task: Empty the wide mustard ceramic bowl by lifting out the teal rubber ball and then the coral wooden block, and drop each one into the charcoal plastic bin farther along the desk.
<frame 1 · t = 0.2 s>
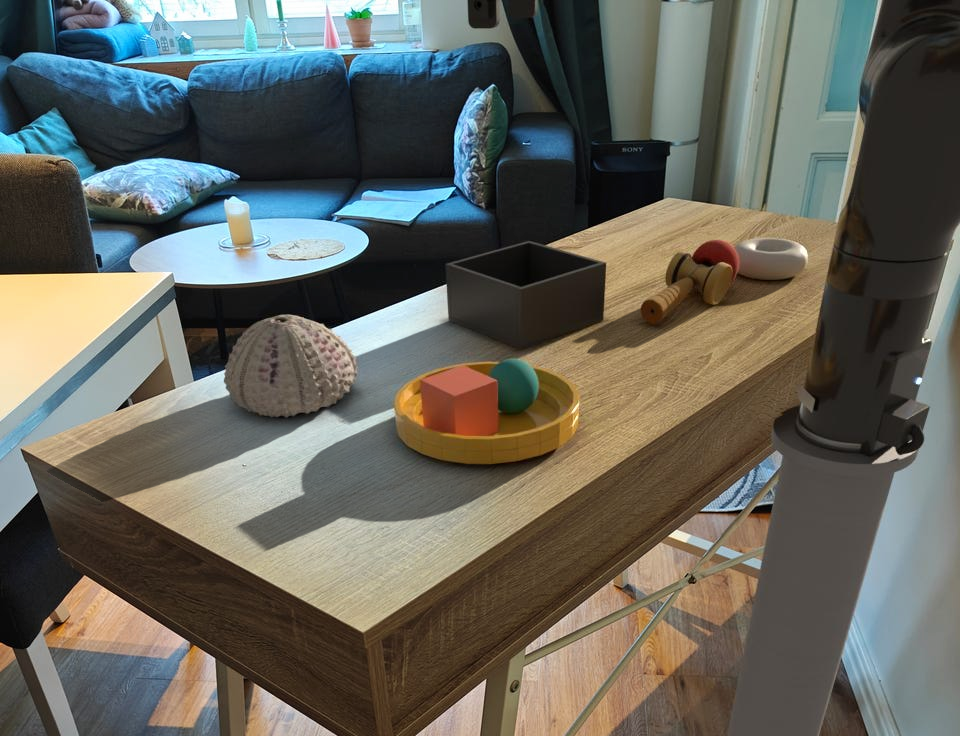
hand: (504, 22, 68), 31 cm above the table, tool pointing down, fingers open, 8 cm apart
bin: (525, 320, 107), on the table
toy block: (461, 431, 83), point 1 cm above the table, touching bowl
bowl: (487, 427, 85), on the table
donut: (766, 273, 119), on the table
toy ball: (512, 411, 86), point 1 cm above the table, touching bowl
kendama: (688, 305, 110), on the table
sea urchin shell: (294, 399, 92), on the table
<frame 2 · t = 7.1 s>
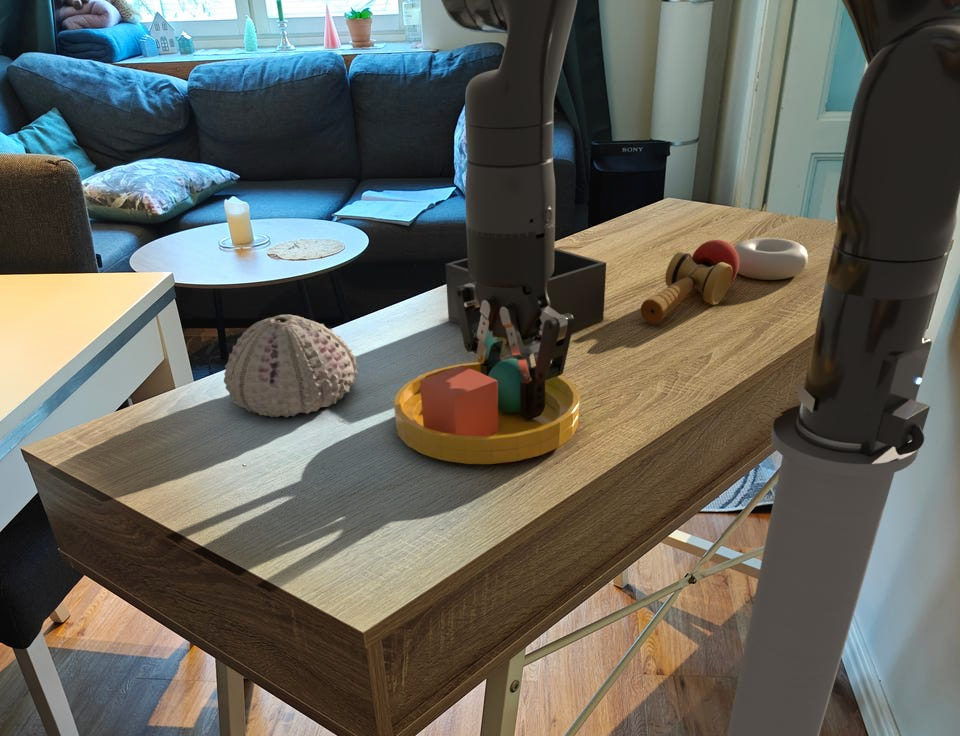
hand: (512, 407, 86), 1 cm above the table, tool pointing down, fingers closed on toy ball, 5 cm apart
toy ball: (512, 411, 86), point 1 cm above the table, touching bowl, gripper
everything else where it was.
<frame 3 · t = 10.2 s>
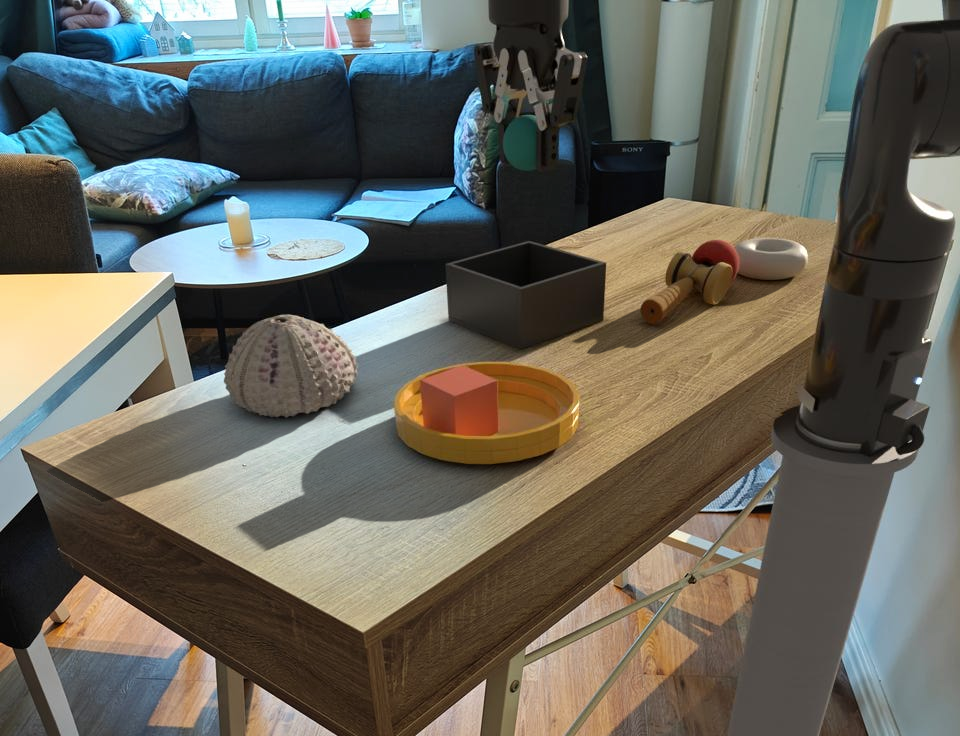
hand: (527, 165, 92), 18 cm above the table, tool pointing down, fingers closed on toy ball, 5 cm apart
toy ball: (527, 170, 92), point 17 cm above the table, touching gripper
everything else where it was.
when the fingers open (7 cm above the table, at t = 13.2 s): toy ball drops 6 cm, resting on bin.
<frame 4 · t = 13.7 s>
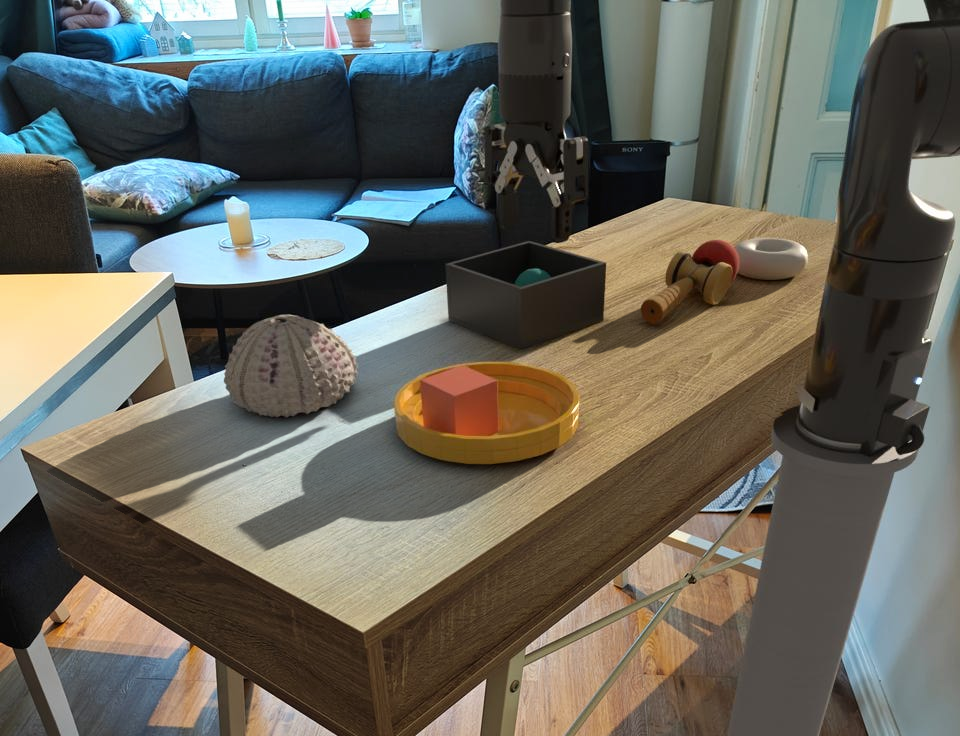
hand: (534, 234, 102), 9 cm above the table, tool pointing down, fingers open, 8 cm apart
toy ball: (534, 312, 107), point 1 cm above the table, touching bin
everything else where it was.
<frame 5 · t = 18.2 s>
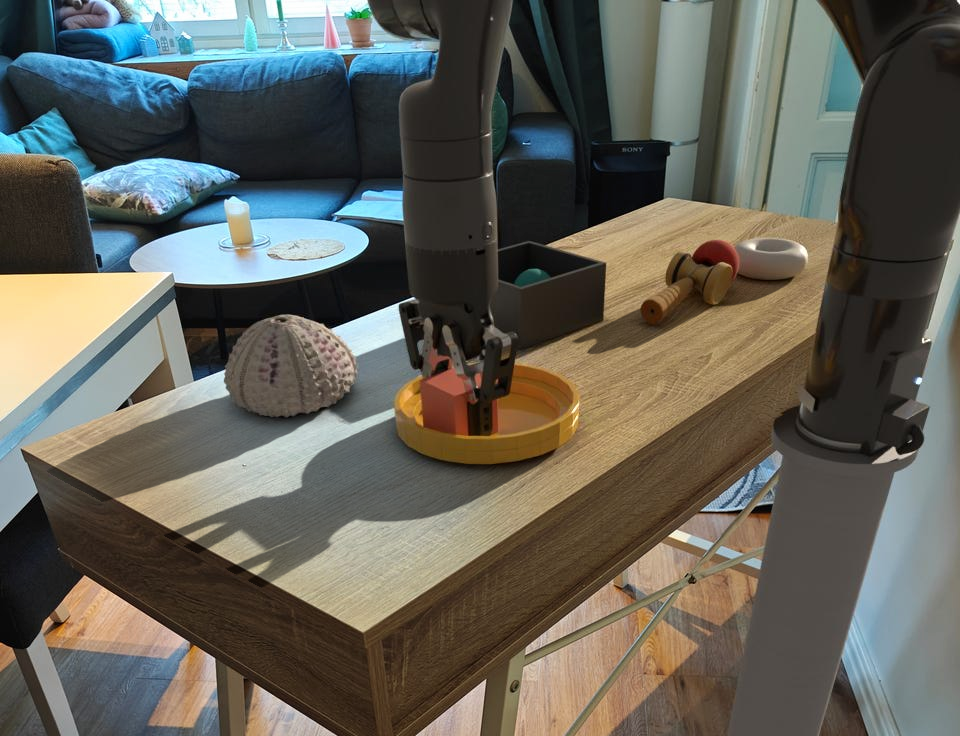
hand: (460, 427, 83), 1 cm above the table, tool pointing down, fingers closed on toy block, 5 cm apart
toy block: (460, 431, 83), point 1 cm above the table, touching bowl, gripper
everything else where it was.
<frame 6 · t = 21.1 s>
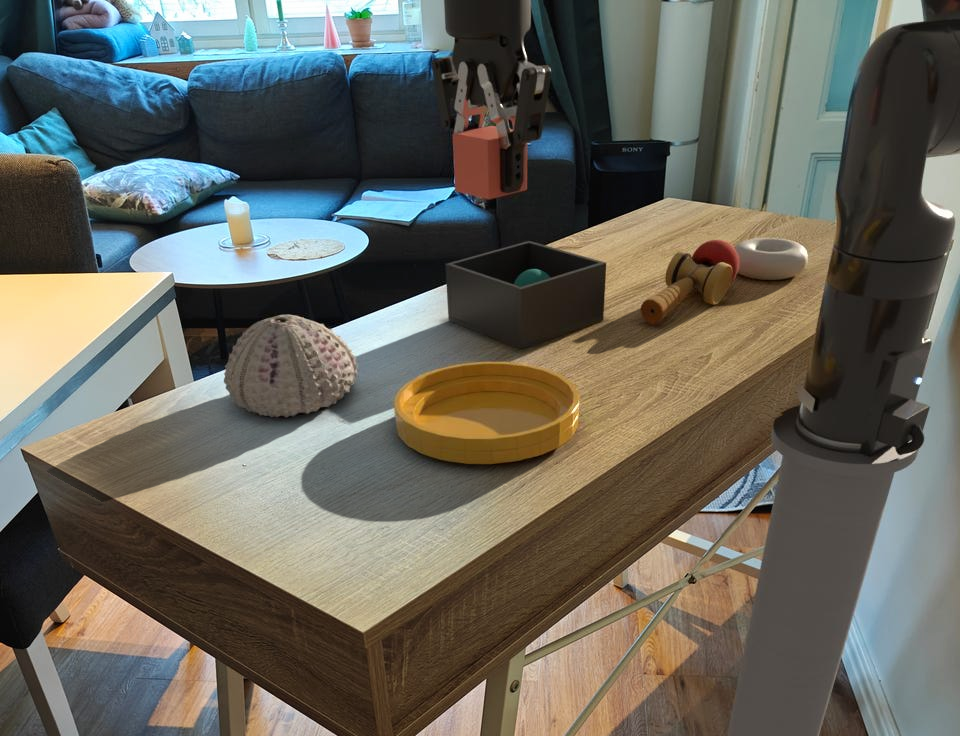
hand: (491, 185, 86), 18 cm above the table, tool pointing down, fingers closed on toy block, 5 cm apart
toy block: (490, 190, 87), point 17 cm above the table, touching gripper
everything else where it was.
when the fingers open (7 cm above the table, at t = 24.4 s): toy block drops 4 cm and tips over, resting on bin.
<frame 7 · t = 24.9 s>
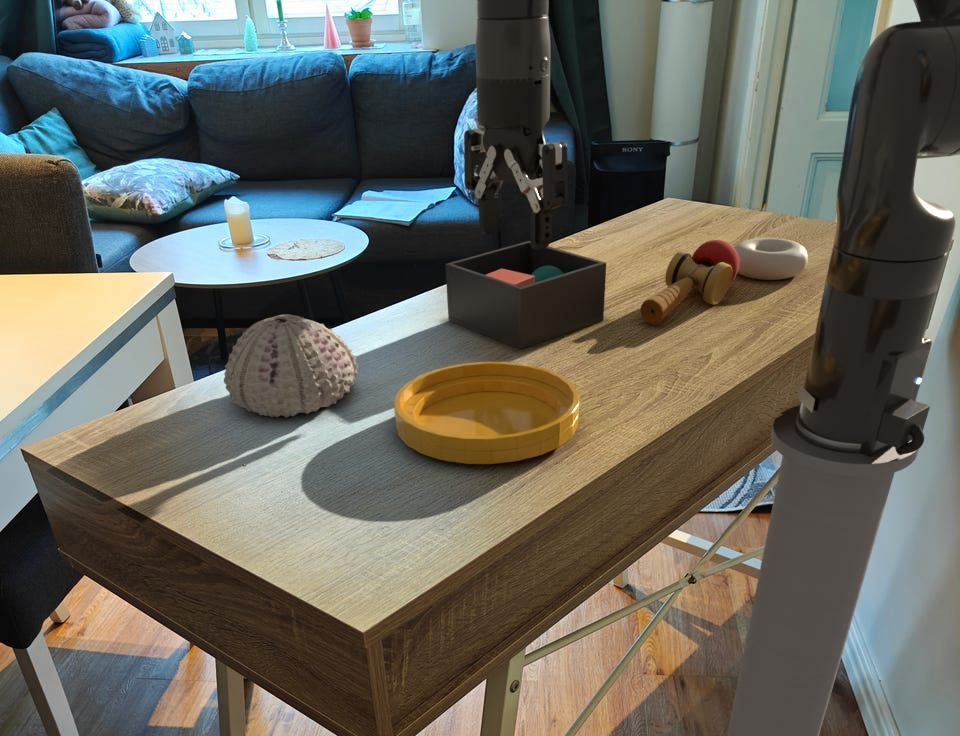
hand: (514, 240, 100), 9 cm above the table, tool pointing down, fingers open, 8 cm apart
toy block: (518, 293, 105), point 3 cm above the table, tilted 90°, touching bin
toy ball: (535, 306, 107), point 1 cm above the table, tilted 45°, touching bin
everything else where it was.
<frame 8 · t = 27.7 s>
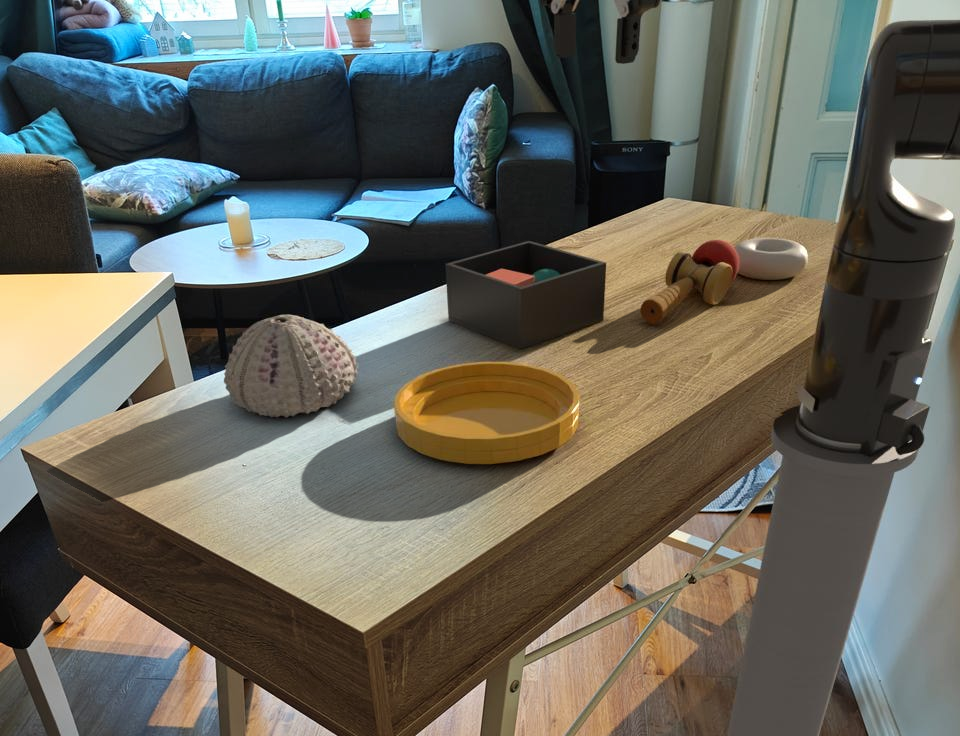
hand: (594, 59, 91), 26 cm above the table, tool pointing down, fingers open, 8 cm apart
toy ball: (535, 310, 107), point 1 cm above the table, tilted 31°, touching bin
everything else where it was.
at the end: toy ball inside the target area in the bin (1.4 cm from its centre), point 1.0 cm above the bin's base; toy block inside the target area in the bin (0.9 cm from its centre), point 3.1 cm above the bin's base; the gripper is holding nothing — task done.
